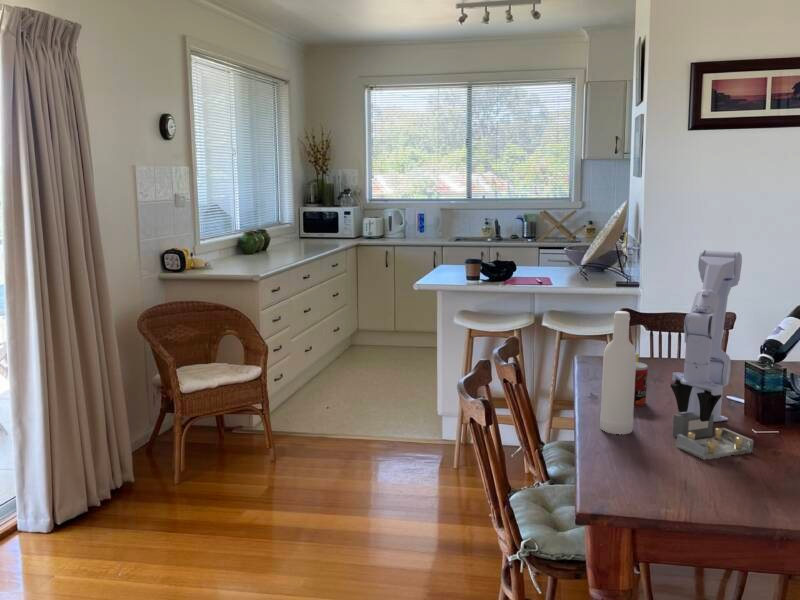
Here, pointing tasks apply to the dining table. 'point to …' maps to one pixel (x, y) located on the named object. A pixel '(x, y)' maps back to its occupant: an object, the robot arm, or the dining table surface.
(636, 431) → the dining table surface
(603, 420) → the bottle
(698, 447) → the pin tray
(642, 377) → the canned food
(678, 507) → the dining table surface
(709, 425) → the block
